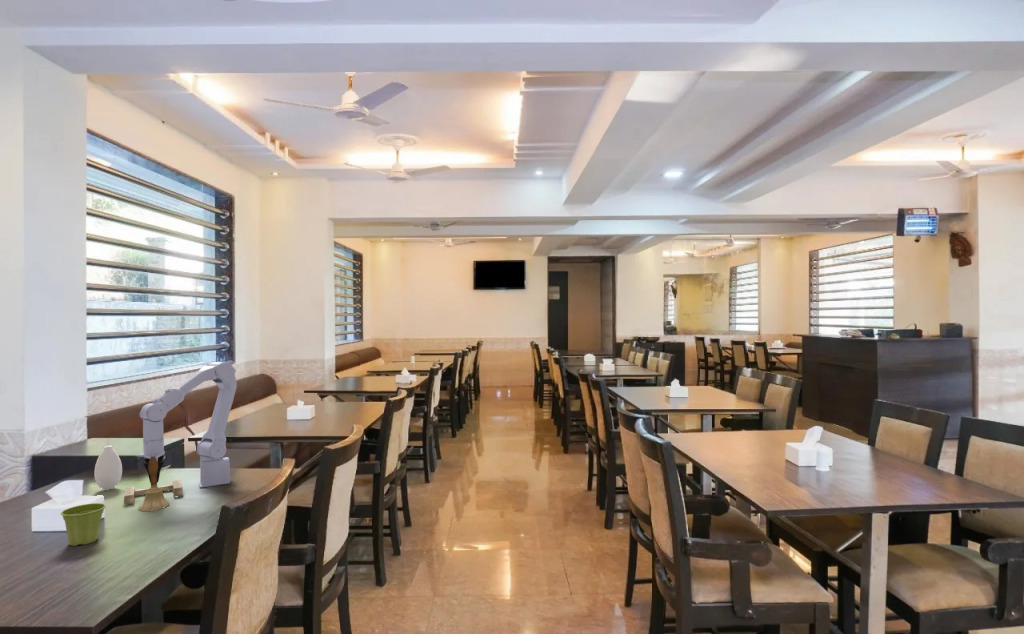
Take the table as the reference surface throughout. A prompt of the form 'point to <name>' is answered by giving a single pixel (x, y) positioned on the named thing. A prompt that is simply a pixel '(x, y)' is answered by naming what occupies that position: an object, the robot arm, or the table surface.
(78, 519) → the plant pot
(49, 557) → the table surface
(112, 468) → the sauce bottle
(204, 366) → the robot arm
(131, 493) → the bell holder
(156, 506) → the hand bell
